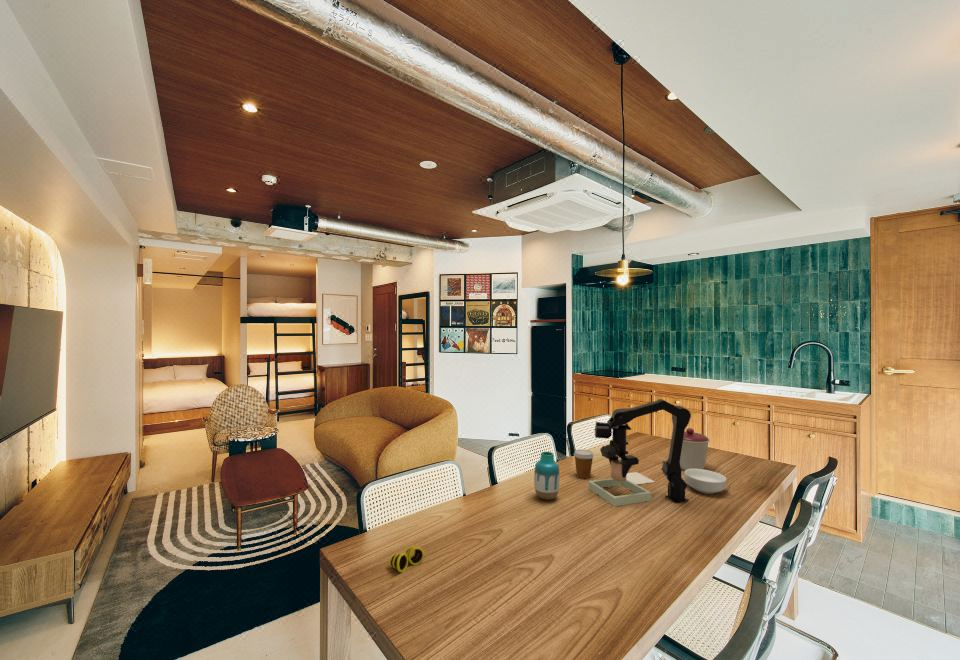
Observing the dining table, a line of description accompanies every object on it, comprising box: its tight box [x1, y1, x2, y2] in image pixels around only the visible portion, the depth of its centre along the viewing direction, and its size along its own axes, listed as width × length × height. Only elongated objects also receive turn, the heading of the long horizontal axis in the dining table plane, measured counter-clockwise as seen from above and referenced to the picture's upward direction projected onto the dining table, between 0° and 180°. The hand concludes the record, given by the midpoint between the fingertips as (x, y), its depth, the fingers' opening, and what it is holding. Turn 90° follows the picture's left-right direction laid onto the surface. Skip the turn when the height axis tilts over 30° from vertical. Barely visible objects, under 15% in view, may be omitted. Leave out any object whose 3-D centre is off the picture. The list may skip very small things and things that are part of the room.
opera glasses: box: [388, 546, 425, 573], centre depth 121 cm, size 10×5×5 cm, turn 135°
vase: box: [533, 451, 561, 501], centre depth 170 cm, size 11×11×19 cm
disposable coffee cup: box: [573, 448, 595, 479], centre depth 195 cm, size 10×10×12 cm
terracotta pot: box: [610, 459, 627, 481], centre depth 174 cm, size 6×6×7 cm
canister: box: [670, 427, 711, 471], centre depth 208 cm, size 18×18×21 cm
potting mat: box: [626, 471, 656, 486], centre depth 193 cm, size 13×13×1 cm
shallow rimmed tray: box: [588, 477, 652, 507], centre depth 174 cm, size 18×18×4 cm
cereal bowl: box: [683, 469, 728, 495], centre depth 180 cm, size 17×17×7 cm
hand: (618, 474), depth 174 cm, fingers closed on terracotta pot, 6 cm apart
